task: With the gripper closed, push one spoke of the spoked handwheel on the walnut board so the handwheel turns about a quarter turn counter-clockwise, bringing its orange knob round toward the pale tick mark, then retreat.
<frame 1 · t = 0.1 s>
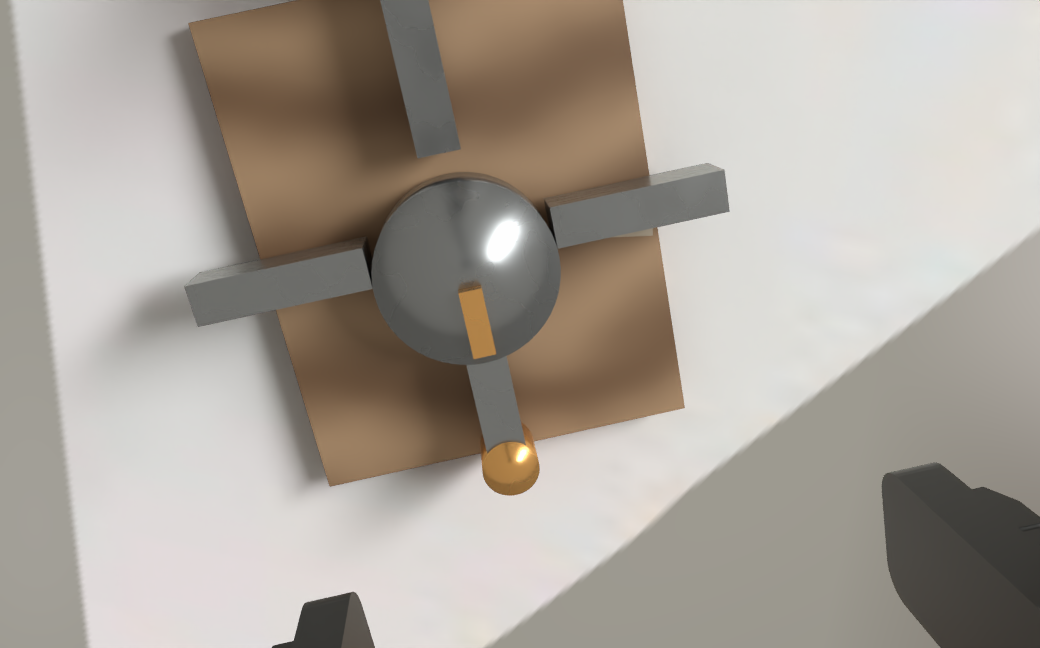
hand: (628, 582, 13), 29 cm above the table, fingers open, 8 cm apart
spoked handwheel: (461, 246, 37), point 4 cm above the table, hinge at 0.0°
stand board: (458, 226, 40), on the table
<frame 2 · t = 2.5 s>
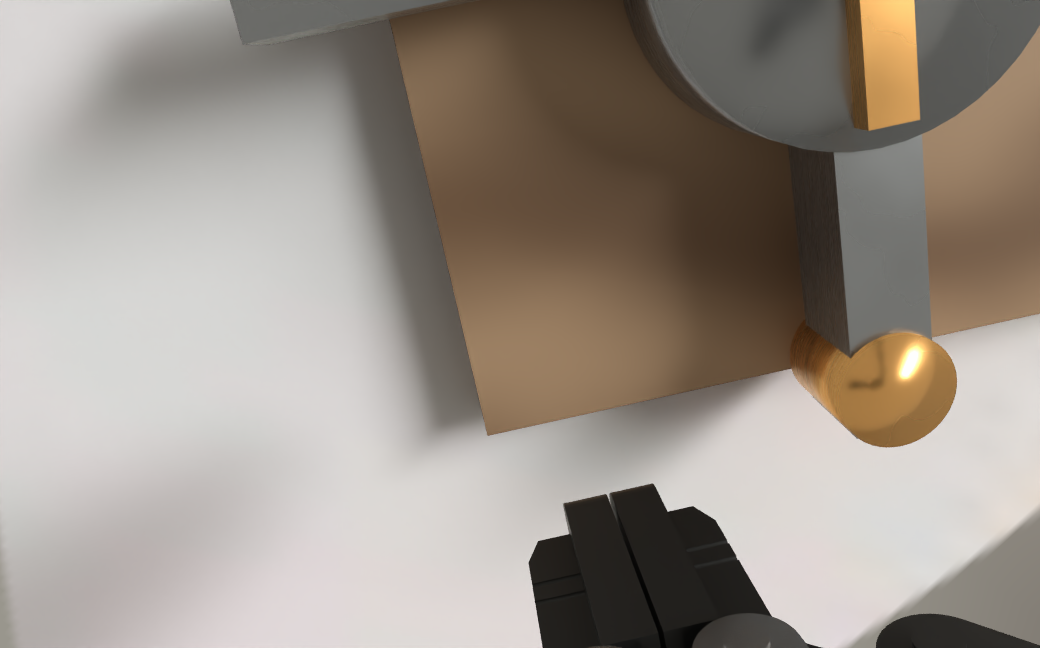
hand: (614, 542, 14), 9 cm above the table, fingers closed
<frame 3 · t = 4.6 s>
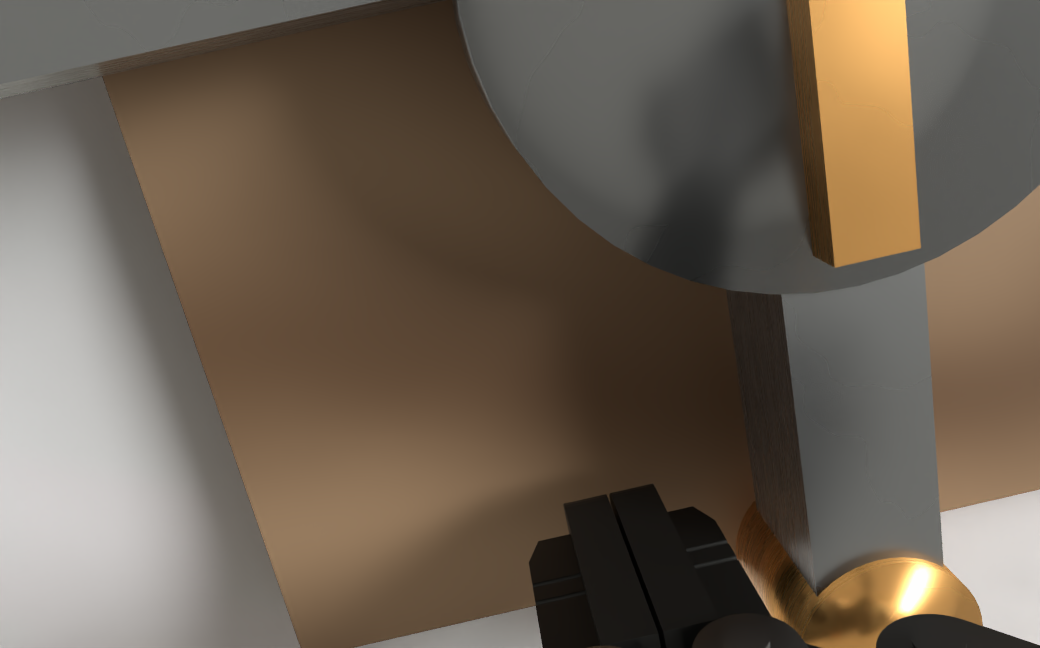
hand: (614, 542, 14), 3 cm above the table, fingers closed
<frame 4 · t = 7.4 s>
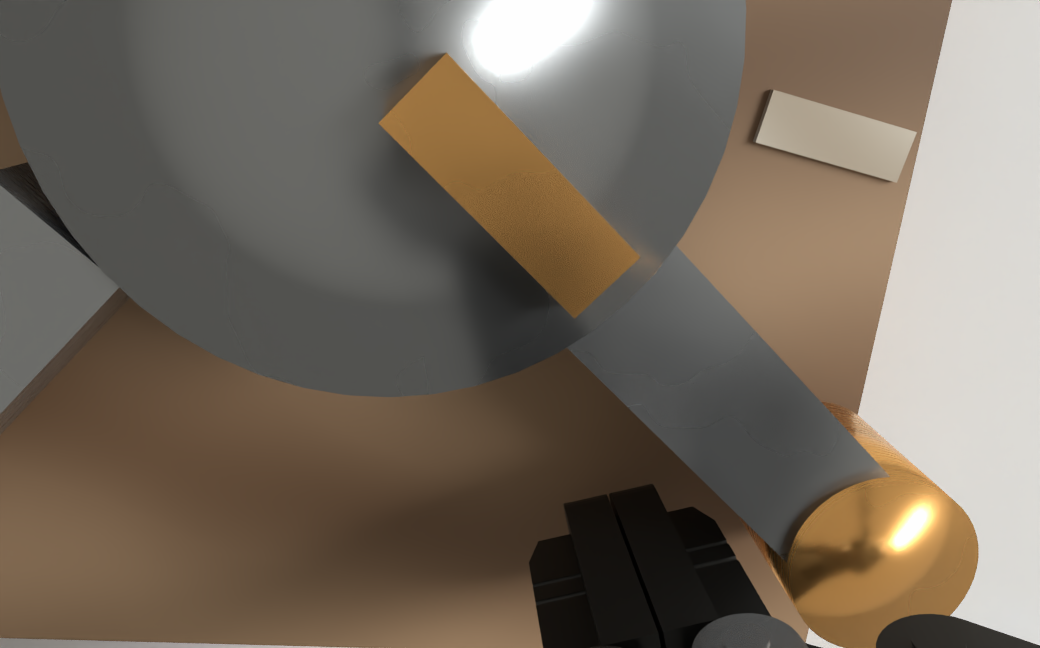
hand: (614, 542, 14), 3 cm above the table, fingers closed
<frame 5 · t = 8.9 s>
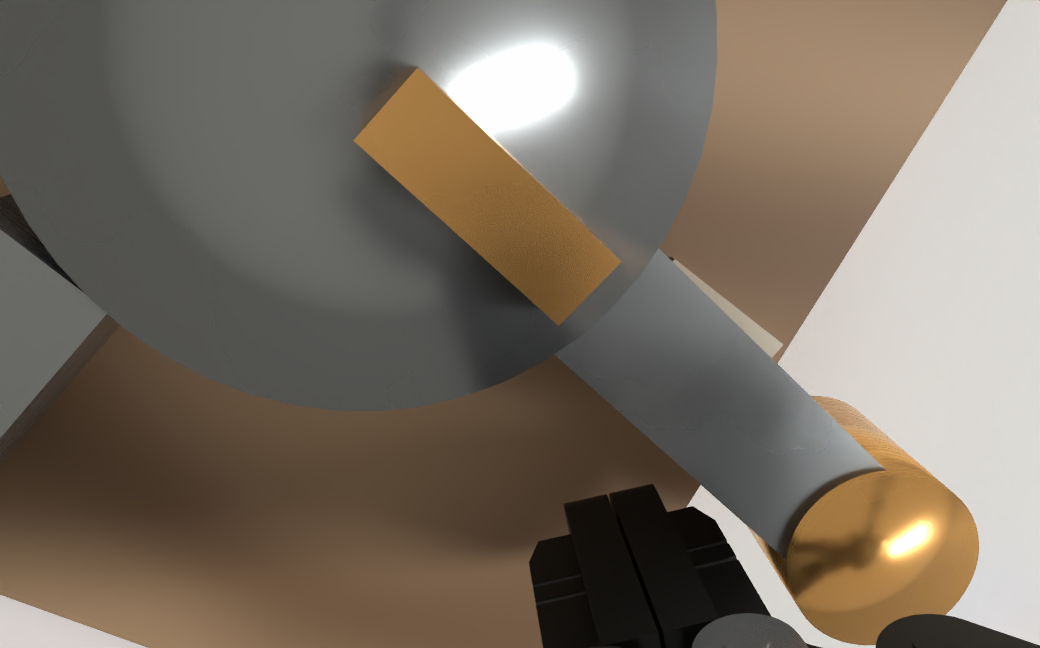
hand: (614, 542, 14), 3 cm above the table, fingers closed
spoked handwheel: (295, 3, 10), point 4 cm above the table, hinge at 74.4°, touching gripper
stand board: (328, 10, 14), on the table
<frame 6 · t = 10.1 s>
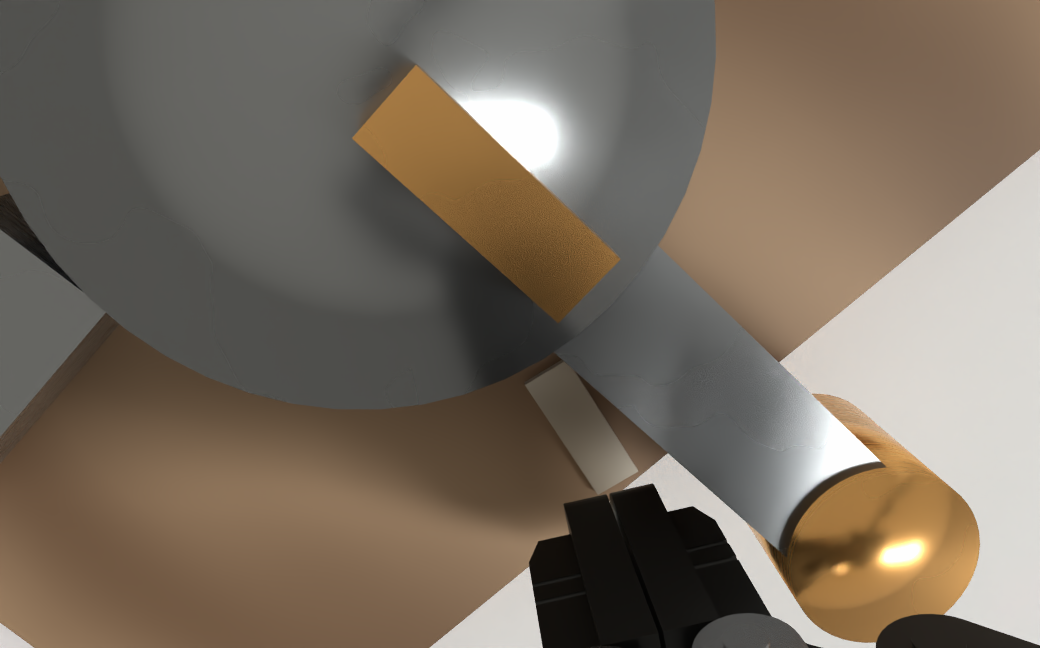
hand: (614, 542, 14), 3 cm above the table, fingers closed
spoked handwheel: (294, 1, 10), point 4 cm above the table, hinge at 95.1°, touching gripper
stand board: (326, 9, 14), on the table
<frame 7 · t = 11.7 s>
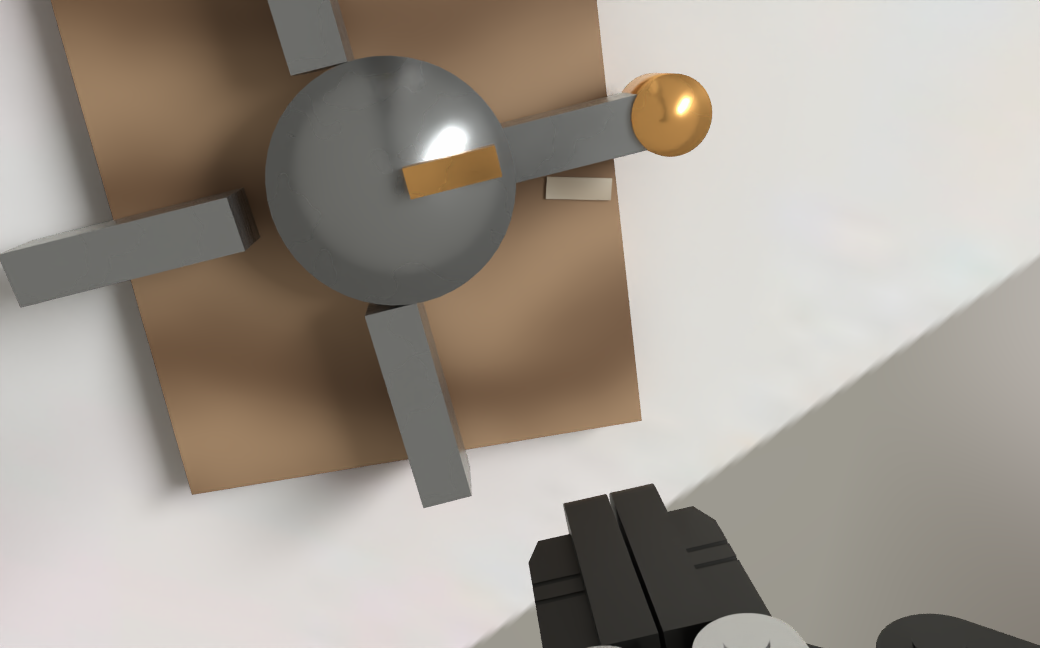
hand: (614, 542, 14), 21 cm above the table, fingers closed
spoked handwheel: (364, 188, 29), point 4 cm above the table, hinge at 95.3°
stand board: (369, 176, 32), on the table
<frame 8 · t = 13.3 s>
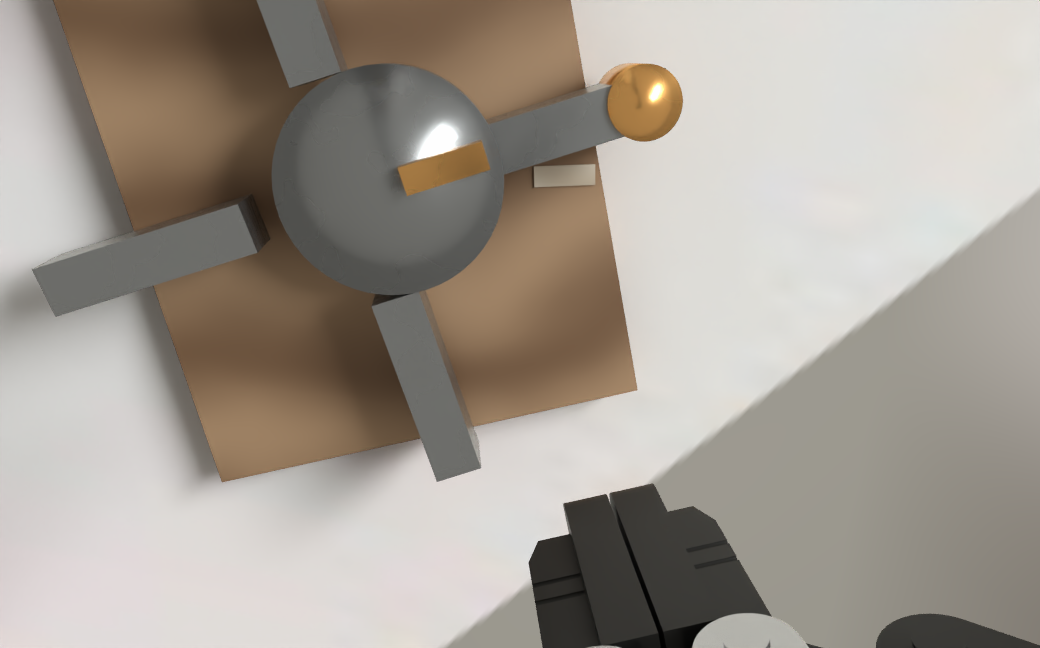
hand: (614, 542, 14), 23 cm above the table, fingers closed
spoked handwheel: (363, 188, 31), point 4 cm above the table, hinge at 95.3°
stand board: (368, 175, 34), on the table
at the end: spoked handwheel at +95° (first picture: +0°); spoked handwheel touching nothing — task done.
